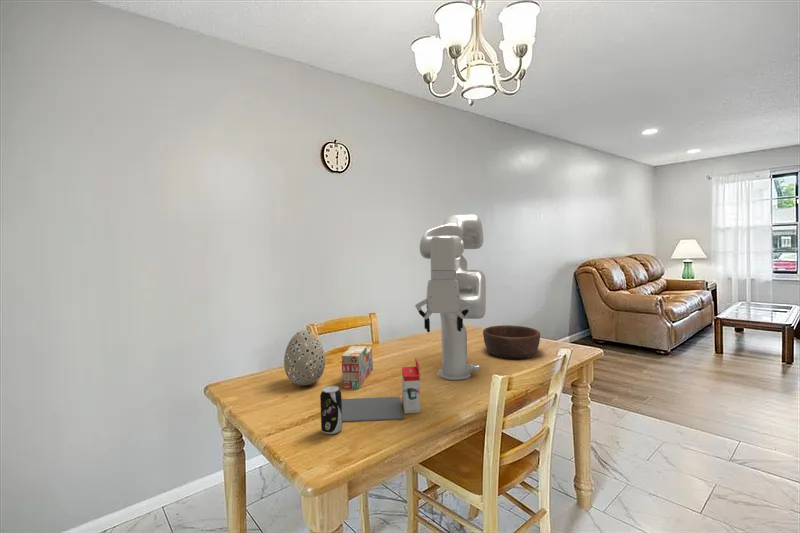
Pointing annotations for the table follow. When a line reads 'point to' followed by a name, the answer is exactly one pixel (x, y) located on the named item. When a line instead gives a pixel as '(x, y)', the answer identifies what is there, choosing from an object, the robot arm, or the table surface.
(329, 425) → the beverage can
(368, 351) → the stack of blocks
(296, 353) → the ornament
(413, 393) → the ink box
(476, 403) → the table surface
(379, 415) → the mat
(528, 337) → the wooden bowl
